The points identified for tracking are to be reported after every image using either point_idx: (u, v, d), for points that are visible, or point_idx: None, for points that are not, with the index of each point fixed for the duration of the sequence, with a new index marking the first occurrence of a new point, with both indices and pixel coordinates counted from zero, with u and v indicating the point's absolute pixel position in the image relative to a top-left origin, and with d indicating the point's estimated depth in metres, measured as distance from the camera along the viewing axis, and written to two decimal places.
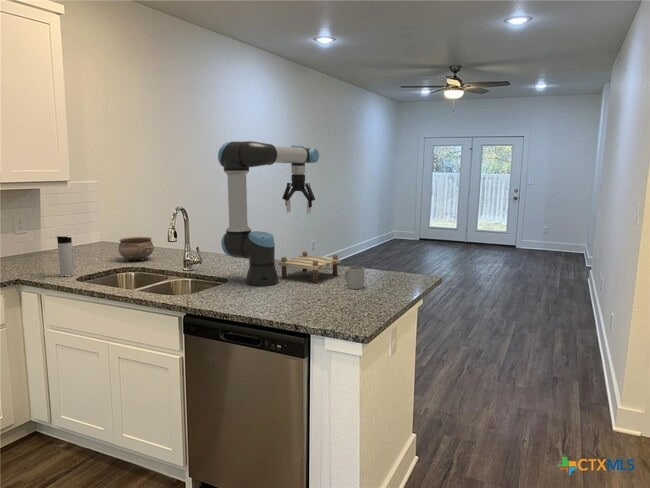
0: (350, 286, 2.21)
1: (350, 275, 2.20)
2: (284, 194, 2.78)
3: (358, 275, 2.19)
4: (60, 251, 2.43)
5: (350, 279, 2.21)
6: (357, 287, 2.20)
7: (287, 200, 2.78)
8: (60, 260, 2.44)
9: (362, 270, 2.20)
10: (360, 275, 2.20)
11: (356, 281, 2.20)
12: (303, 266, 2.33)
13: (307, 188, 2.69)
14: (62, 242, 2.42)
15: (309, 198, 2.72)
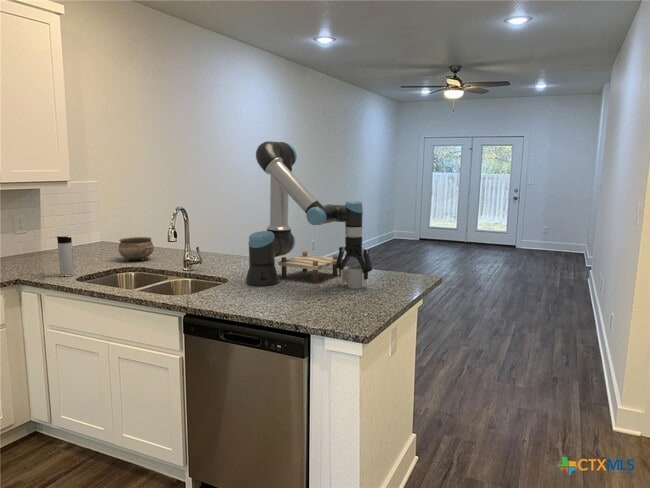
0: (350, 286, 2.21)
1: (350, 275, 2.20)
2: (337, 261, 2.26)
3: (358, 275, 2.19)
4: (60, 251, 2.43)
5: (350, 279, 2.21)
6: (357, 287, 2.20)
7: (341, 269, 2.26)
8: (60, 260, 2.44)
9: (362, 270, 2.20)
10: (360, 275, 2.20)
11: (356, 281, 2.20)
12: (303, 266, 2.33)
13: (365, 256, 2.18)
14: (62, 242, 2.42)
15: None
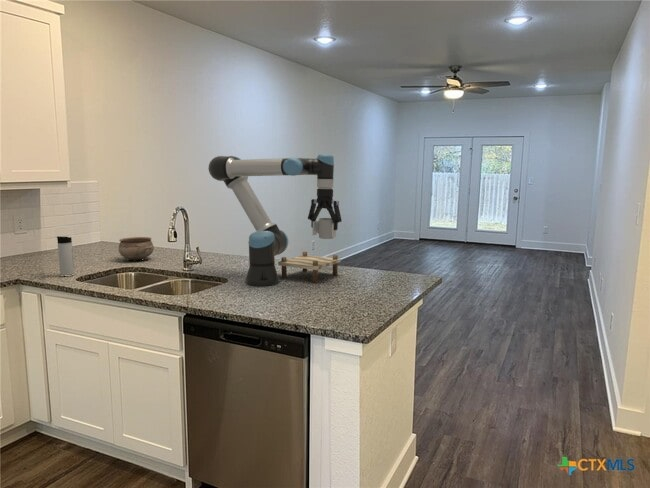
0: (320, 236, 2.31)
1: (321, 225, 2.30)
2: (309, 213, 2.35)
3: (328, 225, 2.29)
4: (60, 251, 2.43)
5: (320, 229, 2.30)
6: (327, 237, 2.30)
7: None
8: (60, 260, 2.44)
9: (332, 221, 2.30)
10: (330, 225, 2.29)
11: (326, 231, 2.29)
12: (303, 266, 2.33)
13: (334, 207, 2.27)
14: (62, 242, 2.42)
15: None
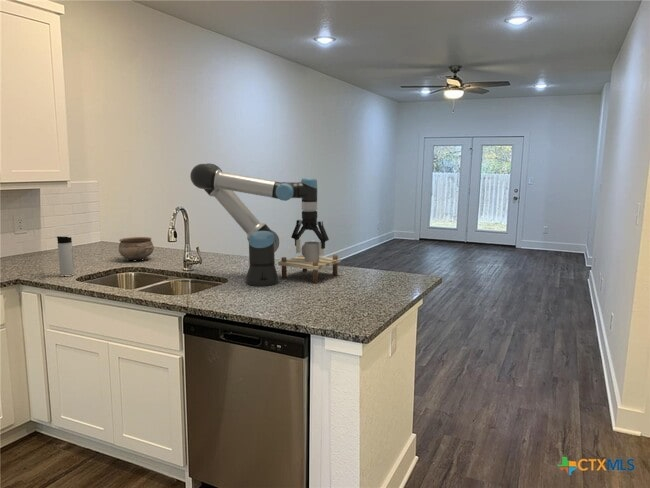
0: (306, 259, 2.40)
1: (306, 249, 2.39)
2: (293, 233, 2.45)
3: (313, 249, 2.38)
4: (60, 251, 2.43)
5: (306, 253, 2.40)
6: (312, 260, 2.39)
7: (297, 239, 2.45)
8: (60, 260, 2.44)
9: (317, 245, 2.39)
10: (315, 249, 2.39)
11: (311, 255, 2.39)
12: (303, 266, 2.33)
13: (320, 227, 2.36)
14: (62, 242, 2.42)
15: None
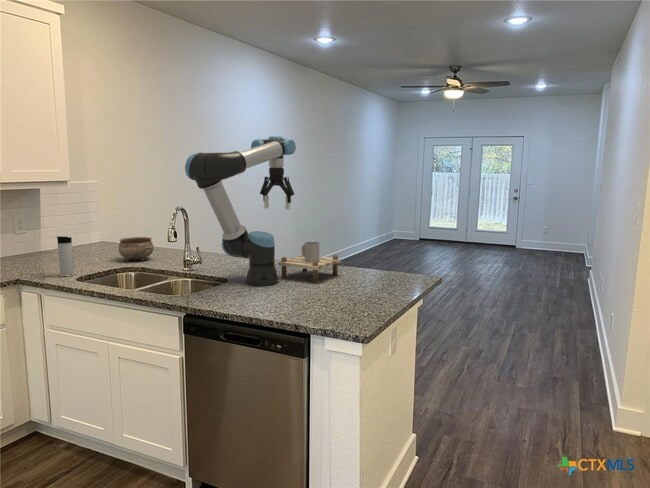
0: (306, 259, 2.40)
1: (306, 249, 2.39)
2: (262, 189, 2.59)
3: (313, 249, 2.38)
4: (60, 251, 2.43)
5: (306, 253, 2.40)
6: (312, 260, 2.39)
7: (265, 195, 2.60)
8: (60, 260, 2.44)
9: (317, 245, 2.39)
10: (315, 249, 2.39)
11: (311, 255, 2.39)
12: (303, 266, 2.33)
13: (286, 182, 2.51)
14: (62, 242, 2.42)
15: (288, 193, 2.53)
